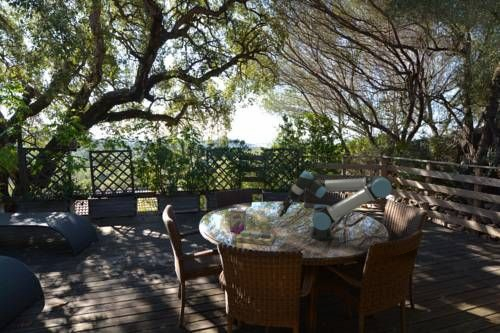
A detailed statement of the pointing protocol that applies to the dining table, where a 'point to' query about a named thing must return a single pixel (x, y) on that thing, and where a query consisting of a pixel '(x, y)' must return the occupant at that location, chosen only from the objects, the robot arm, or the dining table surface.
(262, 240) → the keypad
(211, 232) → the dining table surface
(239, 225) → the candy bar box
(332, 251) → the dining table surface
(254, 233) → the key slate
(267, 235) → the key charcoal
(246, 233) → the key sage
